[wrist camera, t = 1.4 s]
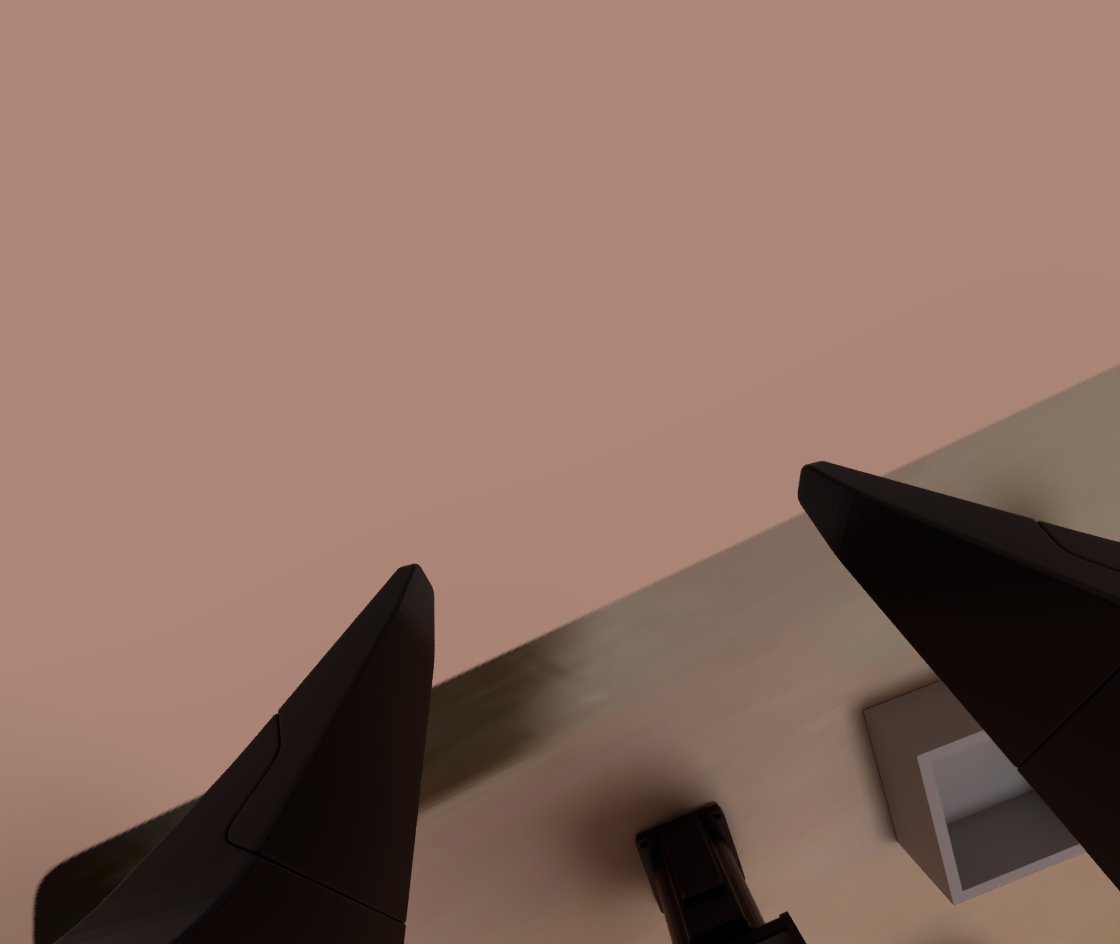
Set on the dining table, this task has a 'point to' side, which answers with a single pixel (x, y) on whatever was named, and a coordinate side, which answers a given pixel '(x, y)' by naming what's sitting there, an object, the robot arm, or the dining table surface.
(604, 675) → the dining table surface
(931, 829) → the bin
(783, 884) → the dining table surface
